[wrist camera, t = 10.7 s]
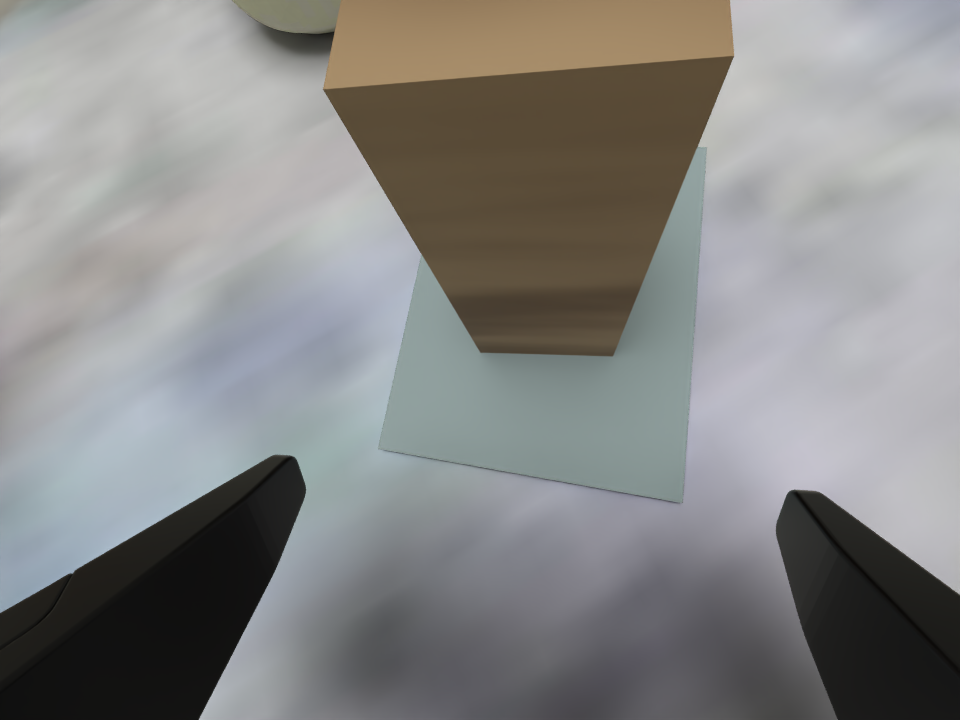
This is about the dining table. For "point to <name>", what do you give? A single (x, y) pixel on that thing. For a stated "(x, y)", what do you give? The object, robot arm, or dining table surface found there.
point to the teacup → (294, 14)
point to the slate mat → (561, 383)
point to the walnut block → (532, 147)
